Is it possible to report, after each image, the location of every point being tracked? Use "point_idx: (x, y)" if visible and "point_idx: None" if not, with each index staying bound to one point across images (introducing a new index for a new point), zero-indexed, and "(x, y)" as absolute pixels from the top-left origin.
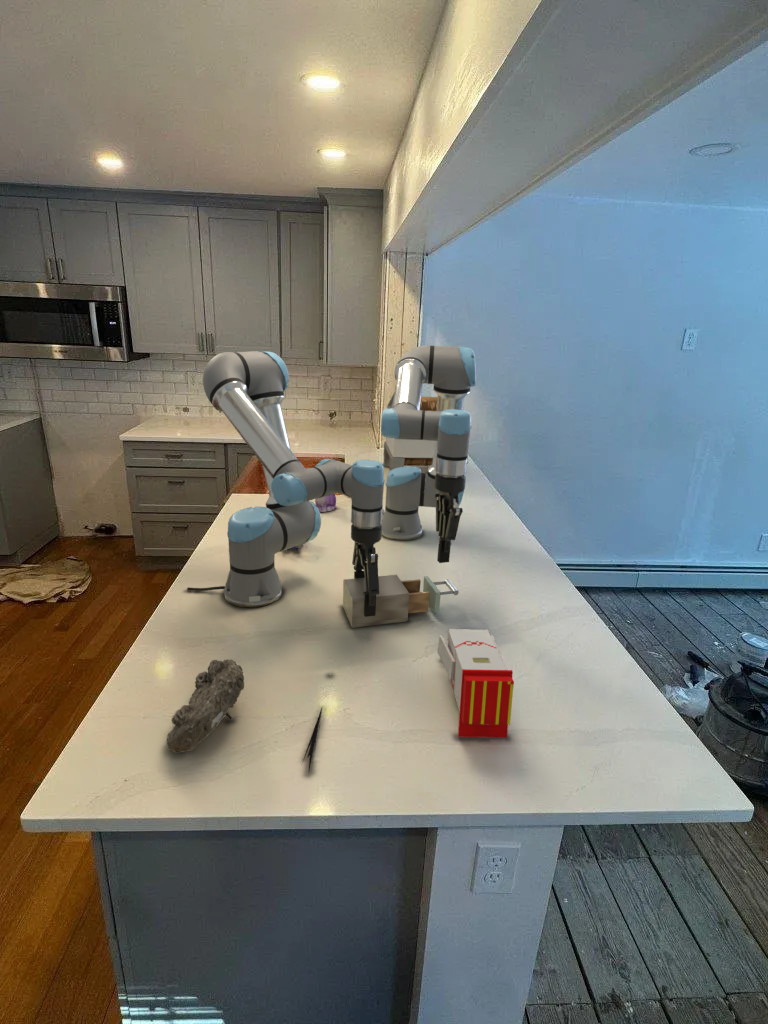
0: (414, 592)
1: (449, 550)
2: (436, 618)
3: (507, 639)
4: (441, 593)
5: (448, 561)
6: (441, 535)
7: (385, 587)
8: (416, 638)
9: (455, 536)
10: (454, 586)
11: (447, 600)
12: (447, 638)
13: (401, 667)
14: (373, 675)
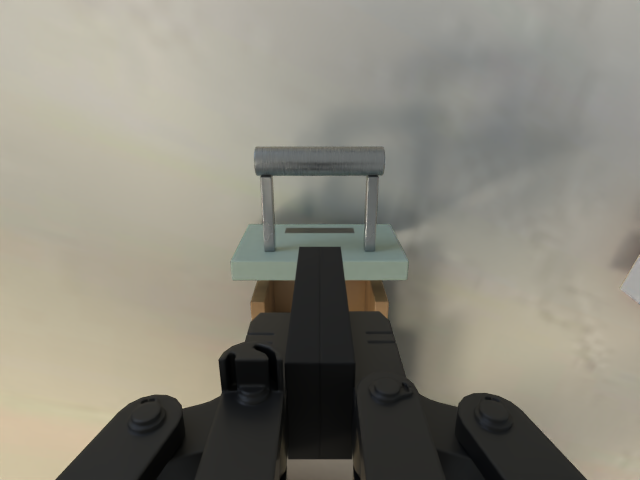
0: (272, 296)
1: (389, 322)
2: (395, 229)
3: (631, 9)
4: (375, 235)
5: (341, 253)
6: (286, 460)
7: (338, 465)
8: (490, 328)
9: (552, 453)
10: (334, 152)
11: (271, 136)
12: (623, 291)
13: (602, 401)
14: (600, 461)
